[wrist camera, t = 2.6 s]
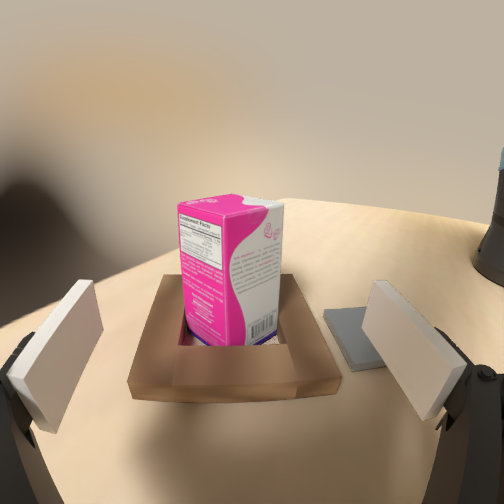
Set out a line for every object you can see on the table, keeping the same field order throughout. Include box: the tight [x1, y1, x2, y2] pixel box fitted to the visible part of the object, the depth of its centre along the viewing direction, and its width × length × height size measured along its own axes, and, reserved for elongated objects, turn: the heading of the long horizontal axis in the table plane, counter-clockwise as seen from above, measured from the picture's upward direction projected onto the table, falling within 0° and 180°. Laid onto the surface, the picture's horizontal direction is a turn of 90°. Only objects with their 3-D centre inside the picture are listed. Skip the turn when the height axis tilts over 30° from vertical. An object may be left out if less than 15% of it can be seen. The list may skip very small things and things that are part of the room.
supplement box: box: [177, 194, 284, 346], centre depth 23 cm, size 6×6×12 cm
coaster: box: [323, 307, 387, 372], centre depth 25 cm, size 8×8×1 cm
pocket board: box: [127, 274, 342, 403], centre depth 25 cm, size 14×16×2 cm
